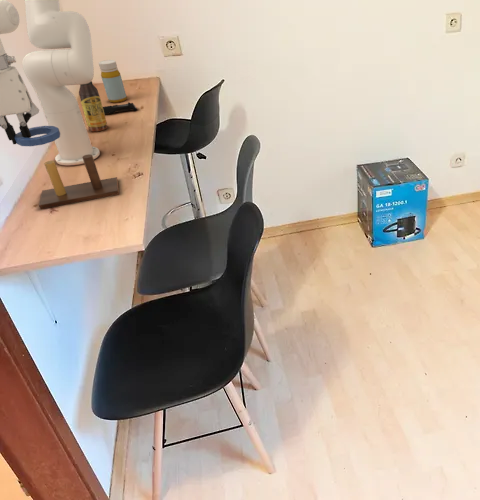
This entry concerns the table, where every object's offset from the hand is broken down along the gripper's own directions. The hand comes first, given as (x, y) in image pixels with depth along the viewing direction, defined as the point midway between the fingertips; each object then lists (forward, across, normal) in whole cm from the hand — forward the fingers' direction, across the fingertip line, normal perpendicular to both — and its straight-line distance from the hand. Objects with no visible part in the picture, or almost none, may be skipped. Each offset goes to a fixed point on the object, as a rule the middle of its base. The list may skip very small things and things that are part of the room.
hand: (21, 140), depth 125 cm
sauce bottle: (+17, -13, -52) cm, 56 cm away
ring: (0, -4, 0) cm, 4 cm away
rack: (+17, -8, 0) cm, 19 cm away
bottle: (+17, -20, -84) cm, 88 cm away
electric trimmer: (+17, -19, -68) cm, 72 cm away
